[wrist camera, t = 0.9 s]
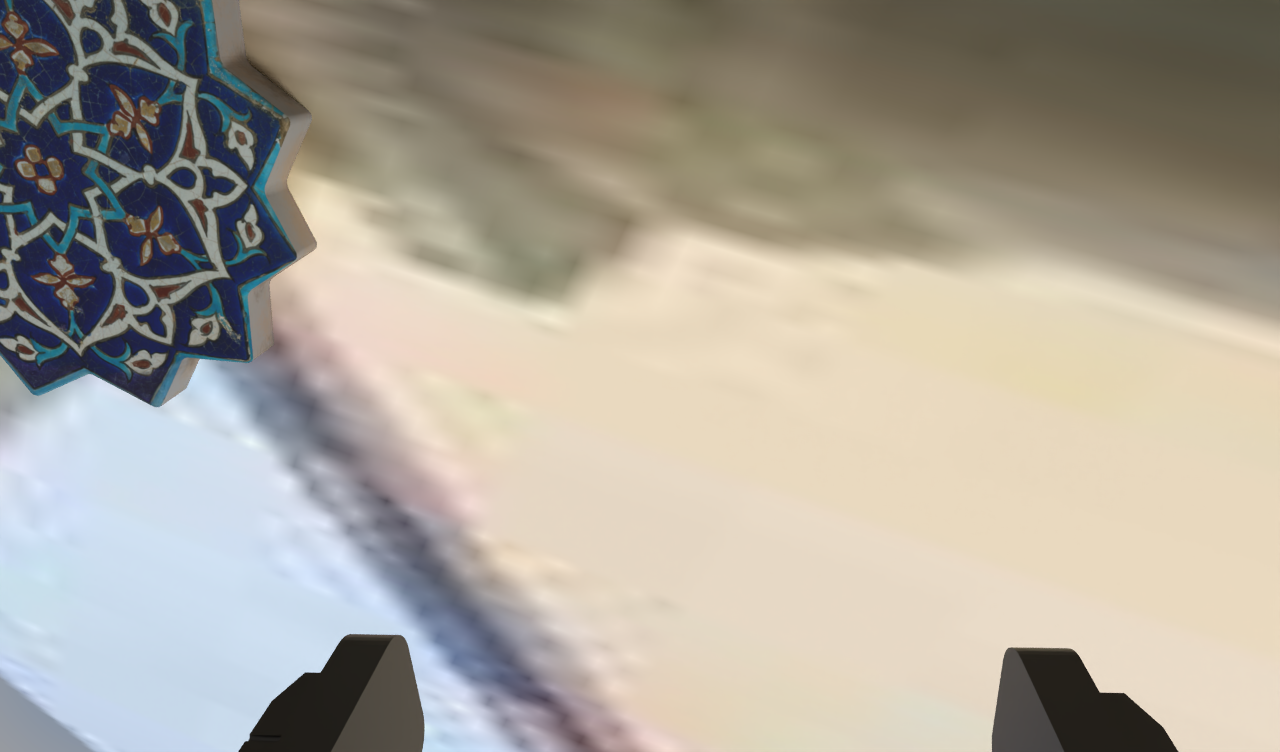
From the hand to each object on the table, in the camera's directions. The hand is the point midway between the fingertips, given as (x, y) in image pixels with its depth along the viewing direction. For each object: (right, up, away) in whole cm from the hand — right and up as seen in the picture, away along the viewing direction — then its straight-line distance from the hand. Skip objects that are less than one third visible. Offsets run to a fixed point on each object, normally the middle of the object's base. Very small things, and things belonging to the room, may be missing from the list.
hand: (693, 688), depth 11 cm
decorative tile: (-23, +13, +22) cm, 35 cm away
